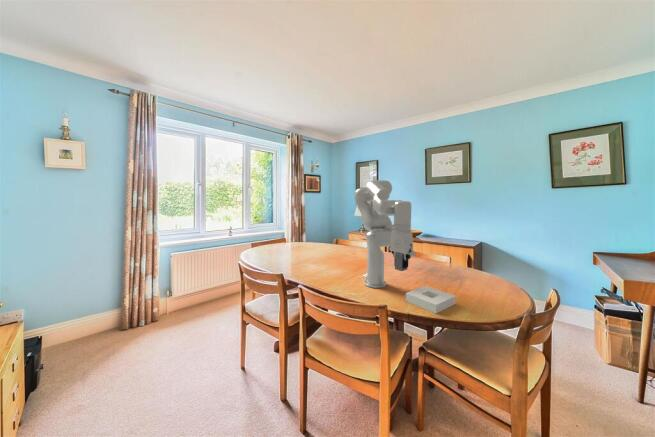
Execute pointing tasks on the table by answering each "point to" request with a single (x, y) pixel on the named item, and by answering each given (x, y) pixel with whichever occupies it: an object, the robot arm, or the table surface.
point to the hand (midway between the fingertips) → (401, 266)
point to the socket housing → (430, 299)
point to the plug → (399, 261)
